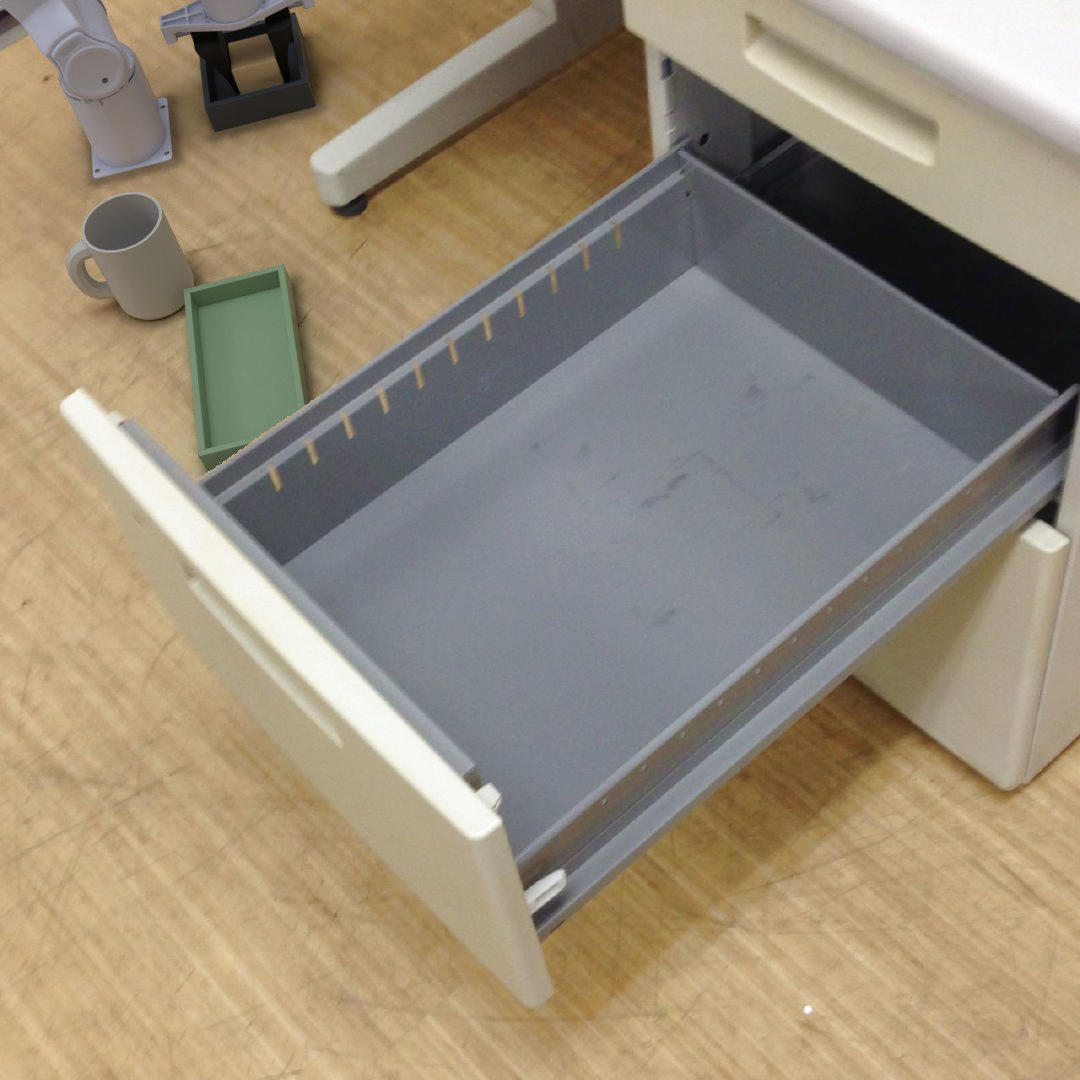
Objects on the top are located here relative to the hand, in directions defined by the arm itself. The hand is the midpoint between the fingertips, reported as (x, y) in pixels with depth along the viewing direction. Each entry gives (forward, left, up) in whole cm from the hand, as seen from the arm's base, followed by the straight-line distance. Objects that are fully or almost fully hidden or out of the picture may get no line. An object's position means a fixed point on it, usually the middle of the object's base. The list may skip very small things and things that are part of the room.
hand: (262, 80), depth 150 cm
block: (0, 0, -1) cm, 1 cm away
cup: (+24, -14, -2) cm, 28 cm away
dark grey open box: (-1, 0, -1) cm, 2 cm away
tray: (+36, -5, -1) cm, 37 cm away
